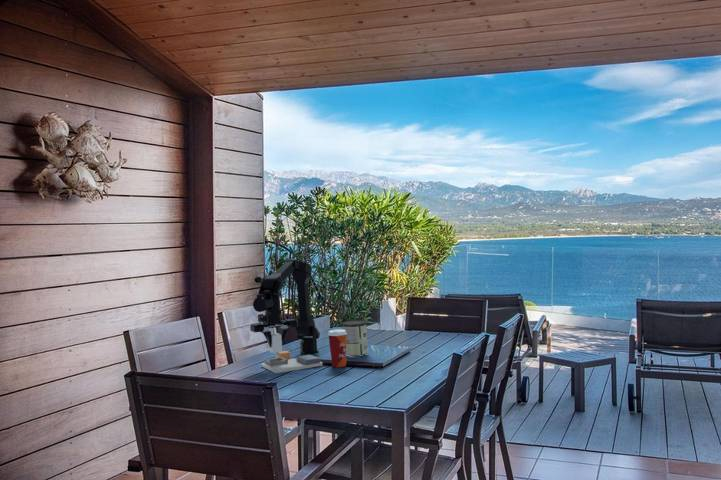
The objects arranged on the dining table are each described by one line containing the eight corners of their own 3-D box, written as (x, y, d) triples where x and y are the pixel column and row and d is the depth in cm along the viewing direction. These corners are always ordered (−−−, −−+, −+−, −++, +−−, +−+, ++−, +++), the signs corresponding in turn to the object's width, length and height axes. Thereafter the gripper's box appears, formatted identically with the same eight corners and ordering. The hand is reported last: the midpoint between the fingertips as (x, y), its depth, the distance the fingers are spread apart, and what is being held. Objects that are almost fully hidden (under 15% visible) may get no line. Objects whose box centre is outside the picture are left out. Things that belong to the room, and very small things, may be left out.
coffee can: (345, 353, 294) (343, 320, 293) (369, 352, 293) (367, 319, 292) (342, 358, 284) (340, 324, 283) (367, 357, 283) (365, 323, 282)
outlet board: (306, 359, 285) (306, 352, 285) (322, 365, 271) (322, 358, 271) (261, 366, 276) (261, 359, 276) (275, 373, 261) (275, 366, 261)
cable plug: (280, 357, 293) (279, 348, 293) (290, 361, 283) (289, 352, 282) (271, 358, 291) (271, 349, 291) (281, 363, 281) (280, 353, 281)
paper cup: (346, 367, 264) (344, 332, 264) (327, 368, 266) (325, 332, 265) (350, 363, 272) (348, 328, 271) (332, 363, 273) (330, 329, 273)
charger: (278, 350, 277) (277, 332, 277) (282, 351, 273) (281, 334, 273) (269, 351, 275) (268, 334, 275) (273, 353, 272) (271, 335, 271)
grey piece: (310, 359, 279) (309, 354, 279) (320, 362, 270) (319, 358, 270) (296, 361, 276) (296, 356, 276) (306, 365, 268) (306, 360, 267)
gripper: (287, 304, 285) (289, 340, 286) (244, 309, 276) (247, 347, 277) (297, 306, 275) (299, 344, 276) (253, 311, 267) (256, 351, 267)
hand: (275, 346), depth 274 cm, fingers closed on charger, 4 cm apart
